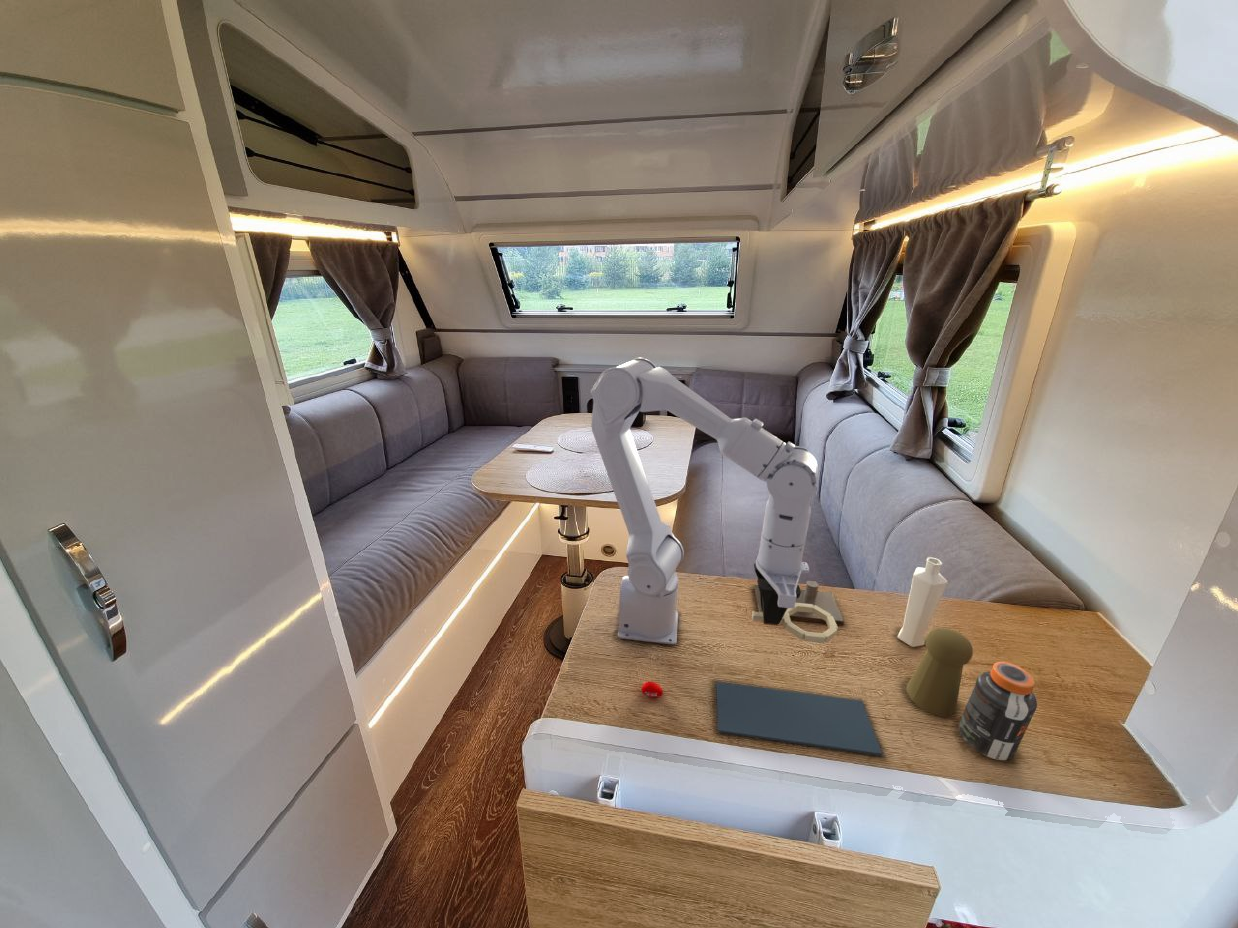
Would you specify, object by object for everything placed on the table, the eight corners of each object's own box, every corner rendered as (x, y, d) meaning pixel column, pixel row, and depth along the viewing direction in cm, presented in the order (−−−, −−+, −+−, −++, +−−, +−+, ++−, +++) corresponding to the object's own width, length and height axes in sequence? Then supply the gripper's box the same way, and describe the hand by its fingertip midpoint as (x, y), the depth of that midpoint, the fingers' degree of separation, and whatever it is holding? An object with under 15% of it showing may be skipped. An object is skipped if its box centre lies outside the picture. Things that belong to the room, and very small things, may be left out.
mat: (718, 732, 61) (718, 730, 61) (715, 683, 69) (716, 681, 68) (882, 756, 59) (882, 753, 58) (861, 702, 66) (862, 700, 66)
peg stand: (759, 615, 82) (762, 592, 80) (754, 587, 90) (757, 565, 88) (843, 625, 80) (849, 601, 79) (831, 595, 88) (836, 573, 86)
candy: (640, 699, 66) (641, 689, 65) (642, 687, 68) (642, 677, 67) (662, 701, 65) (663, 691, 65) (662, 690, 67) (663, 680, 67)
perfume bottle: (896, 644, 76) (919, 565, 71) (893, 626, 80) (915, 551, 75) (929, 652, 75) (955, 572, 69) (924, 634, 79) (948, 557, 73)
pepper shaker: (941, 682, 69) (963, 622, 65) (965, 718, 64) (990, 654, 60) (898, 678, 70) (917, 618, 66) (918, 713, 64) (940, 650, 60)
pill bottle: (1017, 771, 57) (1050, 701, 53) (958, 746, 60) (985, 678, 56) (1011, 733, 62) (1041, 667, 57) (956, 712, 65) (981, 647, 60)
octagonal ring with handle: (827, 610, 72) (831, 593, 71) (841, 645, 66) (846, 626, 64) (749, 603, 74) (751, 586, 73) (755, 635, 67) (758, 617, 66)
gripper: (828, 569, 57) (809, 655, 63) (802, 513, 71) (788, 588, 76) (768, 563, 58) (754, 649, 63) (754, 510, 72) (743, 584, 77)
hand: (770, 616), depth 70 cm, fingers closed on octagonal ring with handle, 2 cm apart
